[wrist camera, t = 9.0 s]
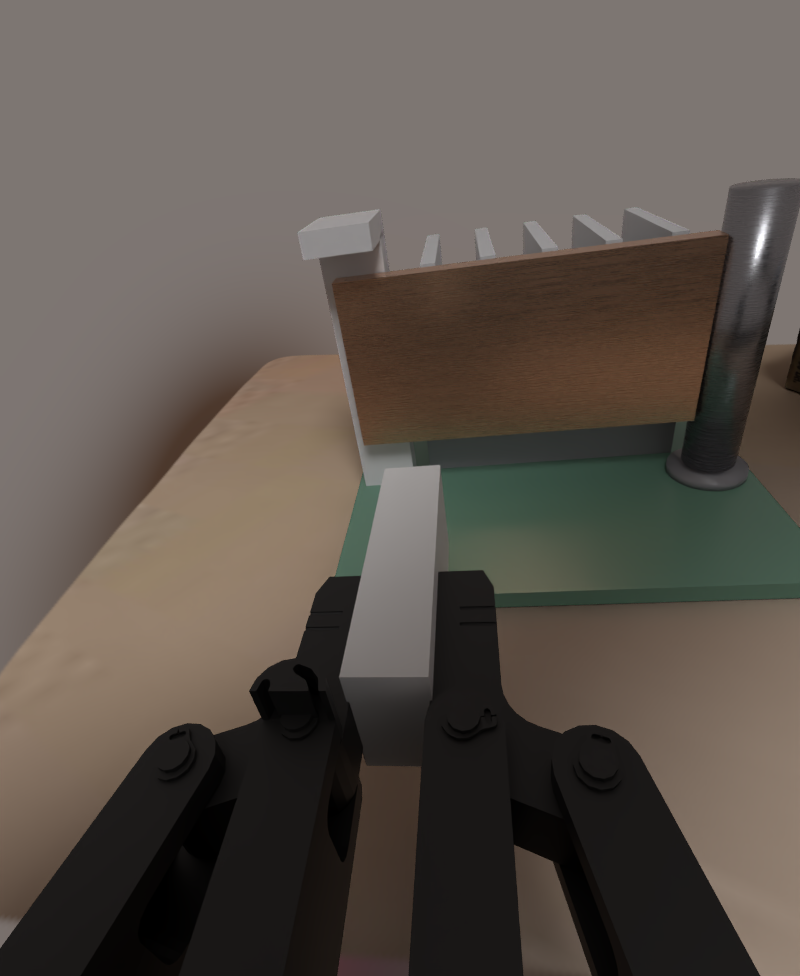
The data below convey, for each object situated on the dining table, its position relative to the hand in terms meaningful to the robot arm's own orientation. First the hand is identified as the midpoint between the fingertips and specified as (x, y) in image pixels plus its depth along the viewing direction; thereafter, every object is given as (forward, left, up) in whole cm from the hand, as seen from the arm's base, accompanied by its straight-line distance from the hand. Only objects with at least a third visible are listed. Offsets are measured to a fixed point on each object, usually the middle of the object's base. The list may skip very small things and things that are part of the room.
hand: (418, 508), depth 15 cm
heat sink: (-5, -13, -8) cm, 17 cm away
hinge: (-5, -12, -7) cm, 15 cm away
